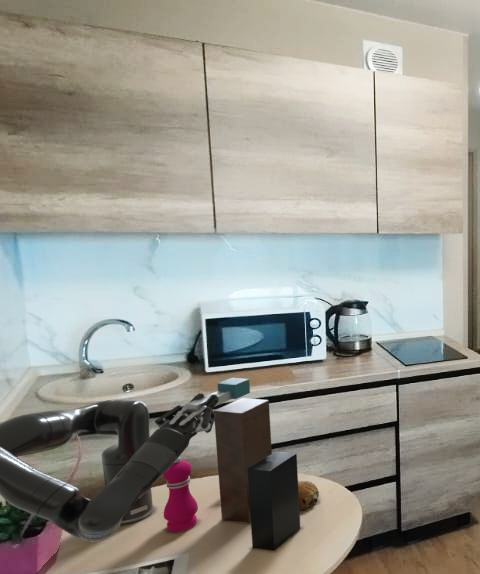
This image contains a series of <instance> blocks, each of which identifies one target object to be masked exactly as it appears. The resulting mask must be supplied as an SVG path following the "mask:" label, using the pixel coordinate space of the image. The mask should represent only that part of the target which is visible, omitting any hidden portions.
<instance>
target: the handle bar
mask: <svg viewBox="0 0 480 574" xmlns="http://www.w3.org/2000/svg"><path fill="white" fill-rule="evenodd" d="M250 385H251V384H250V378H239V377H230V378H227V379H225V380H223V381H220V382H217V391H214V392H212V393H209V394H207V395H204V397H202V398H199V399H197V400H194V401H192V402H190V401H189V402H190V403H189V402H187V403H185V404H184V405H186V413H189V414H192V413H193V412H196V411H198V410H199V409H200V408H201V407H202V406H203V404H204V403H205V402H206V401H207V400H208V398H209V397H210V396H211V395H212V394H214V395H217V397H218V398H219V401H218V403H217V404H216V405H215V406H214V407H213V408H215V407H218V406H220V405H222V404H224V403H226V402H229V401H231V400H238V399H241V398H243V397H244V396H246V395H249V394H250V393H251V386H250Z"/></svg>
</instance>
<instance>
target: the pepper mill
mask: <svg viewBox="0 0 480 574" xmlns="http://www.w3.org/2000/svg"><path fill="white" fill-rule="evenodd" d="M192 472H193V468H192V465H191V463H189V462H188V461H186V460H182V458H181V457H180V456H179V457H178V458H177V459H176V461H175V462H174V463H173V464H172V465H171V467H170V468H169V469H168V470H167V471H166V472H165V473H164V474H163V475H162V477H163V479H164V480H165V481H166V482H165V483H166V488H167V489H168V498H167V502H166V504H165V506H164V508H163V509H164V510H163V518H164V520H165V521H167V523H166V528H167V529H166V530H167V531H168V532H170V533H180V532H185V531H187V530H190V529H191V528H193V527H194V526H195V525H196V524H197V522H198V520H197V515H196V514H197V512H198V510H199V507H198V506H199V505H198V502H197V501H196V499H195V497H194V496H193V495H192V492H191V491H190V483H191V476H190V475H191V474H192Z"/></svg>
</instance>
